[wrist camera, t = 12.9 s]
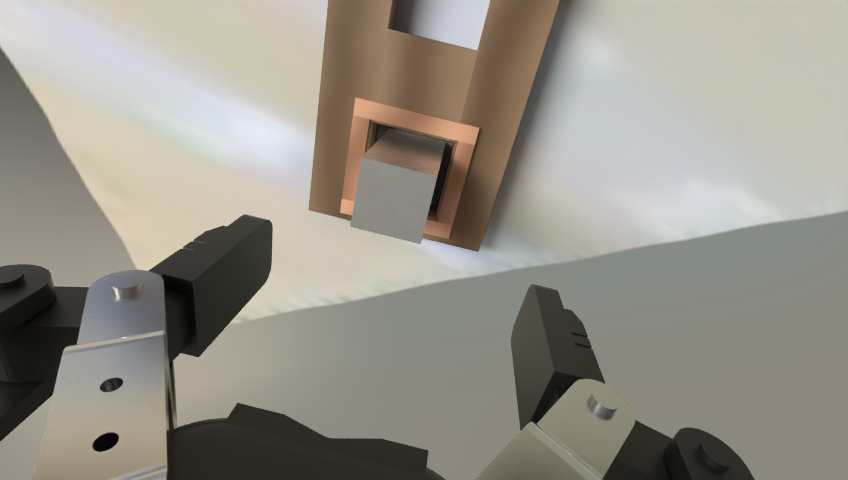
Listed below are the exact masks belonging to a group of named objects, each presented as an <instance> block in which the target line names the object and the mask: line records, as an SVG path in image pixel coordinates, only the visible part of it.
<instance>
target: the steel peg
mask: <svg viewBox="0 0 848 480" xmlns="http://www.w3.org/2000/svg"><path fill="white" fill-rule="evenodd" d="M445 143H446V142H442V141H438V140H434V139H430V138H426V137H422V136H418V135H414V134H410V133H406V132H402V131H398V130H394V129H390V128H389V129H388V130H387V131H386V132H385V133H384V134H383V135H382V136H381V138H380V139H379V140H378V141H377V142H376V143H375V144H374V145H373V146H372V147H371V148H370V149H369V150H368V151H367V152H366V153H365V154H364V155H363V156H362V157H361V163H360V169H359V175H358V182H357V188H356V194H355V201H354V207H353V214H352V220H351V227H355V228H359V229H363V230H367V231H371V232H375V233H379V234H383V235H387V236H391V237H395V238H398V239H402V240H406V241H410V242H414V243H418V244H421V240H422V236H423V232H424V228H425V224H426V220H427V216H428V212H429V208H430V204H431V200H432V196H433V192H434V188H435V184H436V180H437V176H438V172H439V168H440V164H441V160H442V156H443V151H444V147H445Z"/></svg>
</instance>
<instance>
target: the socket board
mask: <svg viewBox="0 0 848 480" xmlns="http://www.w3.org/2000/svg"><path fill="white" fill-rule="evenodd" d="M559 1H560V0H490V4H489V8H488V12H487V16H486V19H485V23H484V27H483V31H482V35H481V39H480V43H479V47H478V51H476V50H472V49H468V48H464V47H460V46H456V45H452V44H448V43H444V42H440V41H436V40H432V39H428V38H424V37H420V36H416V35H412V34H408V33H404V32H400V31H396V30H394V29H395V22H396V16H397V10H398V4H399V0H328V10H327V21H326V31H325V42H324V52H323V63H322V73H321V84H320V95H319V105H318V116H317V126H316V137H315V148H314V158H313V169H312V179H311V190H310V200H309V210H310V211H314V212H319V213H323V214H327V215H331V216H335V217H339V218H343V219H347V220H352V214H353V207H354V201H355V194H356V188H357V182H358V175H359V169H360V163H361V157H362V156H363V155H364V154H365V153H366V152H367V151H368V150H369V149H370V148H371V147H372V146H373V145H374V144H375V143H376V138H377V132H378V126H379V124H383V125H387V126H391V127H395V128H399V129H403V130H407V131H411V132H415V133H419V134H423V135H427V136H431V137H435V138H439V139H444V140H448V141H452V142H454V145H453V149H452V153H451V157H450V161H449V164H448V168H447V172H446V176H445V180H444V184H443V188H442V192H441V196H440V200H439V204H438V206H436V205H432V204H430V208H429V212H428V216H427V220H426V224H425V228H424V232H423V236H422V238H424V239H428V240H432V241H437V242H441V243H445V244H449V245H453V246H457V247H461V248H465V249H469V250H473V251H477V252H478V251H479V248H480V245H481V242H482V239H483V236H484V233H485V230H486V226H487V223H488V220H489V217H490V214H491V211H492V208H493V205H494V202H495V199H496V196H497V193H498V189H499V186H500V183H501V180H502V177H503V174H504V171H505V168H506V165H507V162H508V159H509V155H510V152H511V149H512V146H513V143H514V140H515V137H516V134H517V131H518V128H519V125H520V122H521V118H522V115H523V112H524V109H525V106H526V103H527V100H528V97H529V94H530V91H531V88H532V85H533V81H534V78H535V75H536V72H537V69H538V66H539V63H540V60H541V57H542V54H543V51H544V48H545V44H546V41H547V38H548V35H549V32H550V29H551V26H552V23H553V20H554V17H555V14H556V11H557V7H558V4H559Z"/></svg>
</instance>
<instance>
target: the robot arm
mask: <svg viewBox="0 0 848 480" xmlns="http://www.w3.org/2000/svg"><path fill="white" fill-rule="evenodd" d="M271 262H272V223H271V221H270V220H266V219H262V218H258V217H254V216H249V215H243V216H241V217H240V218H238V219H237V220H235V221H234V222H233V223H231V224H230V225H229V226H227V227H226V226H221V227H218V228H215V229H212V230H209V231H206V232H204V233H203V234H201V235H200V236H198V237H197V238H196V239H194V241H193V242H190V243H188V244H187V245H185V246H184V247H183V249H180V250H178V251H177V252H175V253H174V254H172V255H171V256H169V257H168V258H166V259H165V260H163V261H162V262H161V263H159V264H158V265H156V266H155V267H153V268H152V269H150V270H149V271H144V270H128V271H122V272H116V273H113V274H110V275H107V276H104V277H103V278H100V279H99V280H97V281H96V282H94V283H93V284H92V285H91V286H90V287H89V288H87V287H54V285H53V281H52V278H51V274H50V272H49V271H48V270H47V269H45V268H43V267H40V266H36V265H25V264H24V265H8V266H2V267H0V441H1V440H2V439H4V438H5V437H6V436H7V435H8V434H9V433H10V432H11V431H12V430H14V429H15V428H16V427H17V426H18V425H19V424H20V423H21V422H23V421H24V420H25V419H26V418H27V417H28V416H29V415H30V414H32V413H33V412H34V411H35V410H36V409H37V408H38V407H39V406H41V405H42V404H43V403H44V402H45V401H46V400H47V399H48V398H50V397H51V396H52V395H53V396H52V400H51V404H50V409H49V413H48V418H47V421H46V426H45V430H44V434H43V438H42V442H41V447H40V451H39V456H38V460H37V464H36V468H35V473H34V476H33V480H445V479H444V478H443V477H441V476H440V475H438V474H437V473H436V472H434V471H433V470H431V469H429V468H427V467H426V466H427V457H428V450H424V449H420V448H416V447H412V446H408V445H404V444H400V443H396V442H392V441H388V440H384V439H334V438H333V439H332V438H327V437H325V436H323V435H321V434H319V433H317V432H315V431H313V430H312V429H309V428H308V427H306V426H304V425H302V424H300V423H299V422H297V421H295V420H293V419H291V418H290V417H288V416H286V415H284V414H280V413H276V412H272V411H268V410H264V409H260V408H256V407H252V406H248V405H244V404H240V403H237V405H236V406H235V408H234V409H233V411H232V412H231V414H230V415H229V416H228V418H219V419H209V420H203V421H198V422H194V423H191V424H187V425H184V426H181V427H178V428H177V413H176V394H175V375H174V363H173V360H174V359H175V358H176V357H177V356H178V355H179V354H180V353H184V354H187V355H192V356H196V357H199V356H200V355H201V354H202V353H203V352H204V351H205V350H206V348H207V347H208V346H209V345H210V344H211V343H212V342H213V340H215V338H216V337H217V336H218V335H219V334H220V333H221V332H222V331H223V330H224V328H225V327H226V326H227V325H228V324H229V323H230V322H231V321H232V319H233V318H234V317H235V316H236V315H237V314H238V313H239V312H240V311H241V309H242V308H243V307H244V306H245V305H246V304H247V303H248V302H249V300H250V299H251V298H252V297H253V296H254V295H255V294H256V293H257V292H258V290H259V289H260V288H261V287H262V286H263V285H264V284H265V282H266V280H267V279H268V276H269V274H270V270H271ZM511 348H512V356H513V366H514V375H515V384H516V393H517V402H518V411H519V420H520V430H521V431H520V433H519V434H518V435H517V436H516V437H515V438H514V439H513V440H512V441H511V442H510V443H509V444H508V445H507V446H506V447H505V448H504V449H503V450H502V452H501V453H500V454H499V455H498V456H497V457H496V458H495V459H494V460H493V461H492V462H491V463H490V464H489V465H488V467H486V468H485V469H484V471H483V472H482V473H481V474H480V475H479V476H478V477H477V478H476V479H475V480H754V478H753V476H752V475H751V473H750V471H749V470H748V468H747V466H746V465H745V464H744V462H743V461H742V459H741V458H740V457H739V456H738V455H737V454H736V453H735V452H734V451H733V450H732V449H731V448H730V447H729V446H728V445H726V444H725V443H724V442H722V441H721V440H719V439H718V438H716V437H715V436H713V435H711V434H709V433H707V432H705V431H702V430H699V429H695V428H683V429H680V430H679V431H678V432H677V434H676V435H675V436H674V438H673V439H671V438H670V437H667V436H666V435H664V434H662V433H659V432H658V431H656V430H654V429H652V428H650V427H647V426H645V425H644V424H642V423H640V422H638V421H636V420H635V415H634V412H633V410H632V408H631V406H630V404H629V403H628V402H627V400H626V399H625V398H624V397H623V396H622V395H621V394H620V393H618V392H617V391H616V390H614V389H613V388H611V387H610V386H608V385H606V384H605V381H604V379H603V376H602V373H601V371H600V368H599V365H598V363H597V360H596V357H595V355H594V352H593V350H592V349H591V344H590V341H589V339H588V338H587V333H586V331H585V328H584V325H583V323H582V322H581V321H580V320H579V318H578V317H577V316H576V315H575V314H574V313H573V311H572V310H568V309H564V308H563V305H562V302H561V299H560V296H559V293H558V291H557V290H555V289H551V288H546V287H542V286H538V285H534V284H532V285H531V286H530V287H529V289H528V291H527V294H526V296H525V299H524V301H523V304H522V306H521V309H520V311H519V314H518V316H517V319H516V322H515V324H514V328H513V331H512V338H511Z"/></svg>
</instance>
